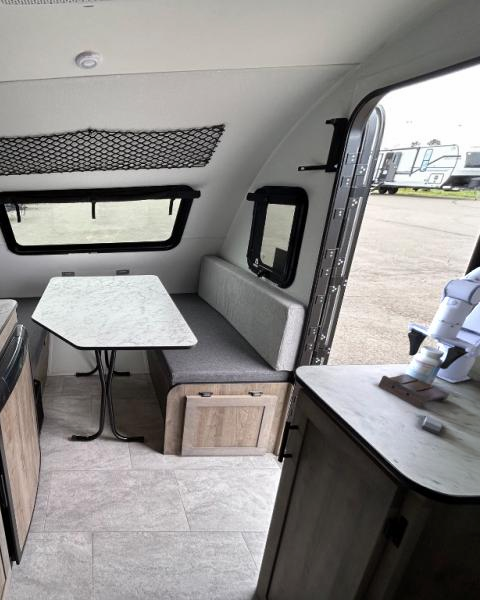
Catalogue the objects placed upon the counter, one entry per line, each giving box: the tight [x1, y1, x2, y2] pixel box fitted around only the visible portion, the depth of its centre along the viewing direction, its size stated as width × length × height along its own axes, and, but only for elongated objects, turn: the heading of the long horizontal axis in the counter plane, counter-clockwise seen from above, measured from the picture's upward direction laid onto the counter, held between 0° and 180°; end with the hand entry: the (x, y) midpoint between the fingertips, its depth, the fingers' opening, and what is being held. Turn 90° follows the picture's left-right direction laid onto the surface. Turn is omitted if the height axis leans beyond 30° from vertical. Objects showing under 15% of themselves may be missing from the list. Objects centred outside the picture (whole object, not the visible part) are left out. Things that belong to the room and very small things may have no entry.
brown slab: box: [378, 373, 450, 409], centre depth 94 cm, size 12×10×4 cm
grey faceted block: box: [420, 415, 443, 436], centre depth 81 cm, size 6×3×2 cm, turn 131°
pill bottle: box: [405, 345, 444, 386], centre depth 98 cm, size 6×6×11 cm
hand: (427, 361), depth 98 cm, fingers open, 7 cm apart
